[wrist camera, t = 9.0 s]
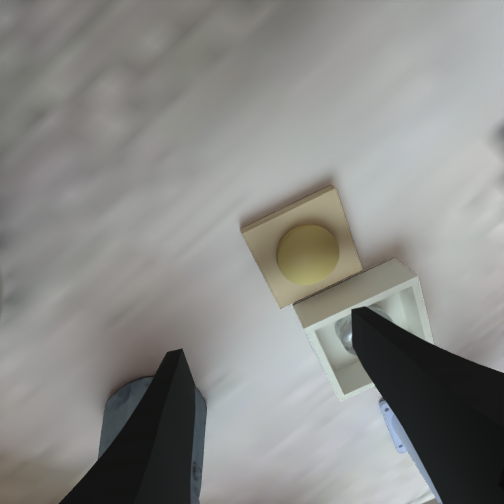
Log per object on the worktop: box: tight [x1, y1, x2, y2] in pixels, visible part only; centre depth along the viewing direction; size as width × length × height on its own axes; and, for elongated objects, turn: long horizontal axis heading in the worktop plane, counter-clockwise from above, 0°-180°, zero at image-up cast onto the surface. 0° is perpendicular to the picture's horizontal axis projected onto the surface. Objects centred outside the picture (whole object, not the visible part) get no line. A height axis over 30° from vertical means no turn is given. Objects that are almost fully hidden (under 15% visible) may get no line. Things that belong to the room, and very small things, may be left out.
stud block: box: [240, 185, 363, 309], centre depth 22 cm, size 7×7×2 cm
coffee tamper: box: [335, 303, 393, 356], centre depth 23 cm, size 4×4×6 cm
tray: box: [293, 258, 434, 402], centre depth 25 cm, size 9×9×3 cm
